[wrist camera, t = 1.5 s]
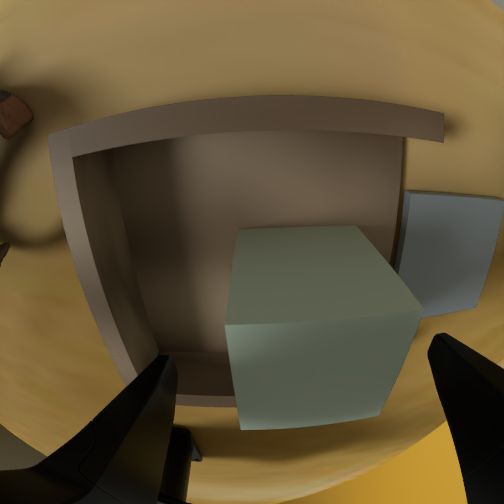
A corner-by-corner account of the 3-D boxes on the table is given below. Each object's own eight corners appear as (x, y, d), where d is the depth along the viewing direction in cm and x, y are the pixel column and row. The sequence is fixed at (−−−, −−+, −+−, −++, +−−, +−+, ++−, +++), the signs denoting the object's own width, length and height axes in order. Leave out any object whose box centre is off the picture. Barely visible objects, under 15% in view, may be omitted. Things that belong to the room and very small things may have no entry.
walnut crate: (365, 349, 15) (382, 393, 12) (149, 356, 16) (134, 400, 13) (398, 112, 10) (444, 113, 7) (94, 127, 10) (47, 135, 7)
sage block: (343, 318, 14) (378, 415, 8) (244, 324, 14) (240, 430, 8) (355, 225, 12) (423, 309, 6) (237, 229, 12) (224, 325, 6)
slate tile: (471, 302, 14) (475, 307, 14) (382, 316, 14) (386, 323, 14) (498, 197, 11) (505, 200, 11) (404, 190, 11) (411, 193, 11)
